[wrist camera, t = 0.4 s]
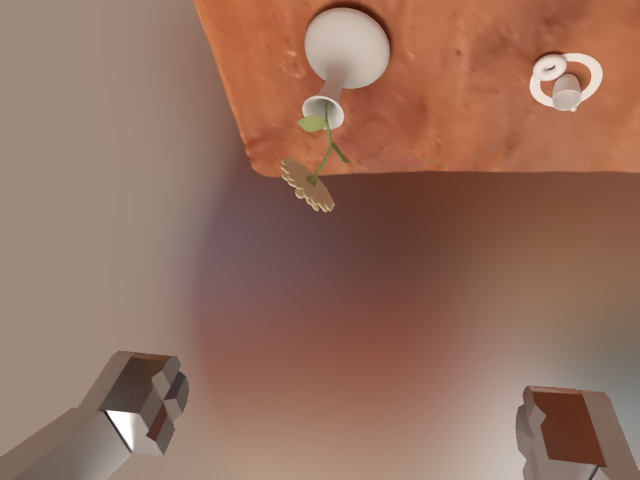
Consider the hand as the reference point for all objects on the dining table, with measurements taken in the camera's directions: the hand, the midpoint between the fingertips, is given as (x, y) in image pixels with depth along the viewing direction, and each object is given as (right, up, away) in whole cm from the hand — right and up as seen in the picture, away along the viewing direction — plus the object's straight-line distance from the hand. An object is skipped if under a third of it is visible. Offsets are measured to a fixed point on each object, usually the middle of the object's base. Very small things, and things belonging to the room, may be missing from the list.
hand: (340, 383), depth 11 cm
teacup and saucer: (+31, +25, +43) cm, 59 cm away
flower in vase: (+4, +29, +49) cm, 57 cm away
